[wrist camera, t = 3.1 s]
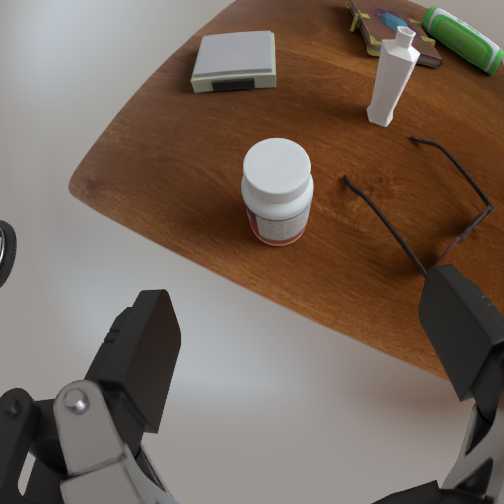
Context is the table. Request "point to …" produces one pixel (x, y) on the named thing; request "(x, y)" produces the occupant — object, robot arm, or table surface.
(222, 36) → the scale
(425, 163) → the table surface
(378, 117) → the perfume bottle
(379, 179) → the table surface
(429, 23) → the speaker
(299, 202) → the pill bottle
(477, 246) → the table surface
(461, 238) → the eyeglasses
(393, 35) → the book
